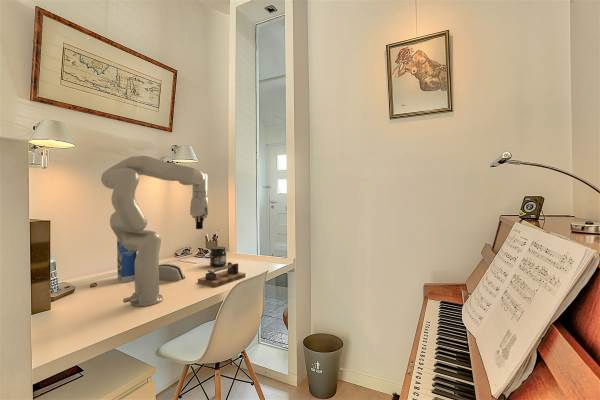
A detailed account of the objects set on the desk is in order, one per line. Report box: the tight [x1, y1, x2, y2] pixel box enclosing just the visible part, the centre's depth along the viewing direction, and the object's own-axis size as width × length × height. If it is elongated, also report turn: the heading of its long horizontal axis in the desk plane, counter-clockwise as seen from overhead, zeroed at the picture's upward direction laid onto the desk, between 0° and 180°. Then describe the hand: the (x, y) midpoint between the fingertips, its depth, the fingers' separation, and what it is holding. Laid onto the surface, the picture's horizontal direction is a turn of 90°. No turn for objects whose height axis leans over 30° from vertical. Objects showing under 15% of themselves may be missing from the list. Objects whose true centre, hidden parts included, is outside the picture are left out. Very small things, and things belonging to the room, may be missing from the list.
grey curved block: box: [159, 263, 186, 281], centre depth 165 cm, size 17×5×10 cm, turn 78°
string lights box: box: [116, 237, 138, 284], centre depth 165 cm, size 13×8×26 cm, turn 42°
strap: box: [207, 263, 235, 273], centre depth 163 cm, size 17×4×2 cm, turn 147°
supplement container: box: [209, 246, 227, 268], centre depth 196 cm, size 10×10×12 cm
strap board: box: [197, 261, 246, 288], centre depth 163 cm, size 22×14×8 cm, turn 147°
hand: (199, 228), depth 159 cm, fingers closed
